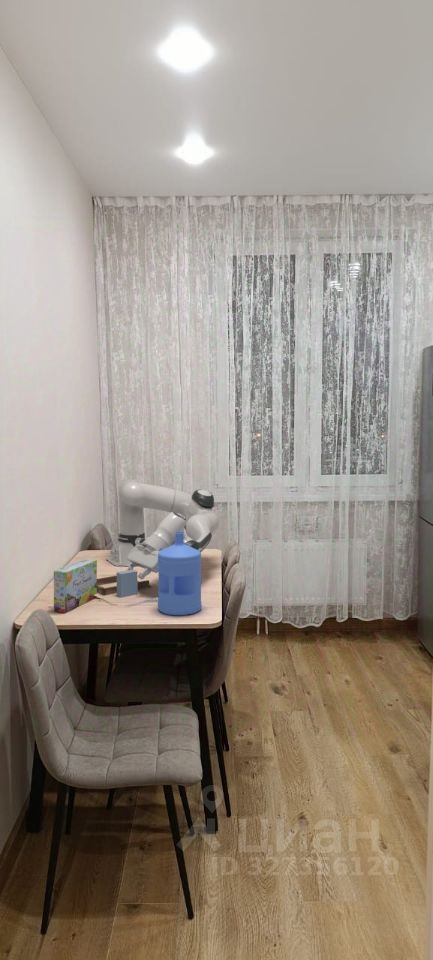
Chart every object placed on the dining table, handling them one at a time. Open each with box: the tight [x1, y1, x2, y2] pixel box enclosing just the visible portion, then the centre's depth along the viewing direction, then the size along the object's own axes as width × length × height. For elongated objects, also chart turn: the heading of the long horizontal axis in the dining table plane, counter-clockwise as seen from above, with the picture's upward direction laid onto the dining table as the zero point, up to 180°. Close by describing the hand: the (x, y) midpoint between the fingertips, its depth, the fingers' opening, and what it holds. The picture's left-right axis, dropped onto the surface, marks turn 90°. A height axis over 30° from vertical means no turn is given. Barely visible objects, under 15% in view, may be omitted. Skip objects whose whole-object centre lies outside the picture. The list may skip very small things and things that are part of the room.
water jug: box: [157, 531, 202, 616], centre depth 229 cm, size 16×16×28 cm
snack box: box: [53, 558, 98, 614], centre depth 236 cm, size 21×6×15 cm, turn 160°
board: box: [116, 569, 139, 598], centre depth 243 cm, size 4×7×10 cm, turn 128°
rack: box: [97, 574, 152, 600], centre depth 255 cm, size 15×21×4 cm
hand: (133, 575), depth 244 cm, fingers open, 8 cm apart
